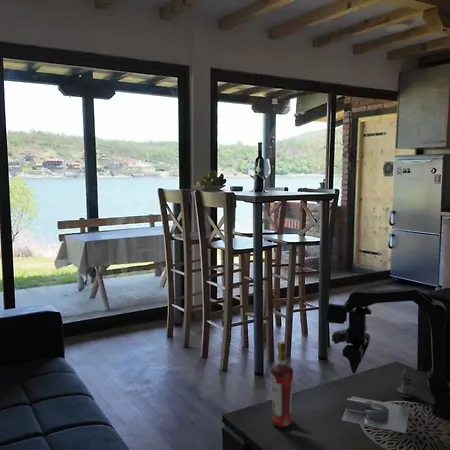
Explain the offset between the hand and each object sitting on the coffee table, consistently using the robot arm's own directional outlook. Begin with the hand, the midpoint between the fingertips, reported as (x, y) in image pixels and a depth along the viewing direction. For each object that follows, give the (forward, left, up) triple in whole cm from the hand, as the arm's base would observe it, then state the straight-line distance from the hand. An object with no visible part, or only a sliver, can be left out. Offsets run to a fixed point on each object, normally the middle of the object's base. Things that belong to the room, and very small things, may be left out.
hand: (356, 367), depth 169 cm
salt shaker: (-16, -12, -14) cm, 24 cm away
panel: (-8, +5, -14) cm, 17 cm away
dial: (-5, +6, -13) cm, 15 cm away
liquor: (+20, +22, -14) cm, 33 cm away
